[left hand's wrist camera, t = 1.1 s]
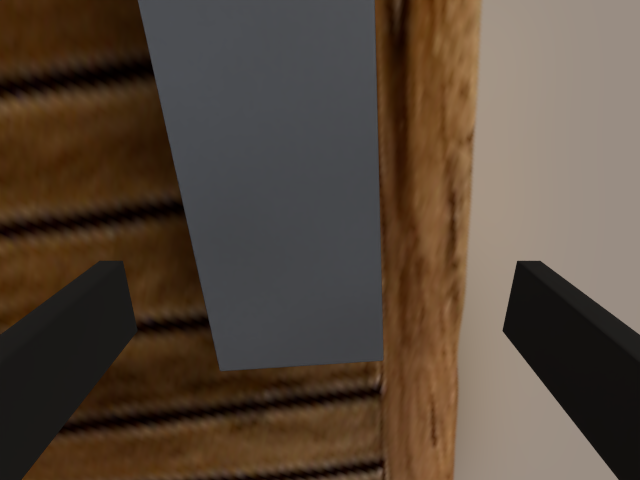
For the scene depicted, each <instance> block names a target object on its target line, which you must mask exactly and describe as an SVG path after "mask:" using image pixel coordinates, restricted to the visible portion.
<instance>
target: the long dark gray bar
mask: <svg viewBox="0 0 640 480" xmlns="http://www.w3.org/2000/svg"><path fill="white" fill-rule="evenodd" d="M138 3H139V8H140V12H141V17H142V21H143V26H144V30H145V35H146V39H147V44H148V48H149V53H150V57H151V62H152V66H153V71H154V75H155V80H156V84H157V89H158V93H159V98H160V102H161V107H162V111H163V116H164V120H165V125H166V129H167V134H168V138H169V143H170V147H171V152H172V156H173V161H174V165H175V170H176V174H177V179H178V183H179V188H180V192H181V197H182V201H183V206H184V210H185V215H186V219H187V224H188V229H189V233H190V238H191V242H192V247H193V251H194V256H195V260H196V265H197V269H198V274H199V278H200V283H201V287H202V292H203V296H204V301H205V305H206V310H207V314H208V319H209V323H210V328H211V332H212V337H213V341H214V346H215V350H216V355H217V359H218V364H219V368H220V371H230V370H246V369H261V368H276V367H292V366H307V365H322V364H338V363H353V362H368V361H382V360H383V323H382V282H381V241H380V200H379V159H378V118H377V77H376V36H375V0H138Z"/></svg>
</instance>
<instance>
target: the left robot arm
mask: <svg viewBox="0 0 640 480" xmlns="http://www.w3.org/2000/svg"><path fill="white" fill-rule="evenodd" d="M136 332H137V326H136V322H135V317H134V312H133V307H132V303H131V298H130V293H129V288H128V283H127V279H126V274H125V269H124V264H123V261H99V262H98V263H96V264H95V265H94V266H92V267H91V268H90V269H88V270H87V271H86V272H84V273H83V274H81V275H80V276H79V277H77V278H76V279H75V280H73V281H72V282H71V283H69V284H68V285H67V286H65V287H64V288H63V289H61V290H60V291H59V292H57V293H56V294H55V295H53V296H52V297H51V298H49V299H48V300H47V301H45V302H44V303H42V304H41V305H40V306H38V307H37V308H36V309H34V310H33V311H32V312H30V313H29V314H28V315H26V316H25V317H24V318H22V319H21V320H20V321H18V322H17V323H16V324H14V325H13V326H12V327H10V328H9V329H8V330H6V331H5V332H4V333H2V334H1V335H0V480H21V479H22V478H23V477H24V476H25V474H26V473H27V472H28V470H29V469H30V468H31V467H32V465H33V464H34V463H35V462H36V460H37V459H38V458H39V456H40V455H41V454H42V453H43V451H44V450H45V449H46V447H47V446H48V445H49V444H50V442H51V441H52V440H53V438H54V437H55V436H56V435H57V433H58V432H59V431H60V429H61V428H62V427H63V426H64V424H65V423H66V422H67V421H68V419H69V418H70V417H71V415H72V414H73V413H74V412H75V410H76V409H77V408H78V406H79V405H80V404H81V403H82V401H83V400H84V399H85V397H86V396H87V395H88V394H89V392H90V391H91V390H92V389H93V387H94V386H95V385H96V383H97V382H98V381H99V380H100V378H101V377H102V376H103V374H104V373H105V372H106V371H107V369H108V368H109V367H110V365H111V364H112V363H113V362H114V360H115V359H116V358H117V356H118V355H119V354H120V353H121V351H122V350H123V349H124V348H125V346H126V345H127V344H128V342H129V341H130V340H131V339H132V337H133V336H134V335H135V333H136ZM503 332H504V333H505V335H506V336H507V337H508V339H509V340H510V341H511V342H512V344H513V345H514V346H515V348H516V349H517V350H518V351H519V353H520V354H521V355H522V356H523V358H524V359H525V360H526V362H527V363H528V364H529V365H530V367H531V368H532V369H533V371H534V372H535V373H536V374H537V376H538V377H539V378H540V380H541V381H542V382H543V383H544V385H545V386H546V387H547V389H548V390H549V391H550V392H551V394H552V395H553V396H554V397H555V399H556V400H557V401H558V403H559V404H560V405H561V406H562V408H563V409H564V410H565V412H566V413H567V414H568V415H569V417H570V418H571V419H572V421H573V422H574V423H575V424H576V426H577V427H578V428H579V429H580V431H581V432H582V433H583V435H584V436H585V437H586V438H587V440H588V441H589V442H590V444H591V445H592V446H593V447H594V449H595V450H596V451H597V453H598V454H599V455H600V456H601V458H602V459H603V460H604V461H605V463H606V464H607V465H608V467H609V468H610V469H611V470H612V472H613V473H614V474H615V476H616V477H617V478H618V479H619V480H640V335H639V334H638V333H636V332H635V331H634V330H632V329H631V328H630V327H628V326H627V325H626V324H624V323H623V322H622V321H620V320H619V319H618V318H616V317H615V316H614V315H612V314H611V313H610V312H608V311H607V310H606V309H604V308H603V307H601V306H600V305H599V304H598V303H596V302H595V301H593V300H592V299H591V298H589V297H588V296H587V295H585V294H584V293H583V292H581V291H580V290H579V289H577V288H576V287H575V286H573V285H572V284H571V283H569V282H568V281H567V280H565V279H564V278H562V277H561V276H560V275H559V274H557V273H556V272H554V271H553V270H552V269H550V268H549V267H548V266H546V265H545V264H544V263H542V262H541V261H517V265H516V269H515V274H514V279H513V284H512V288H511V293H510V298H509V303H508V307H507V312H506V317H505V322H504V327H503Z"/></svg>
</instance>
